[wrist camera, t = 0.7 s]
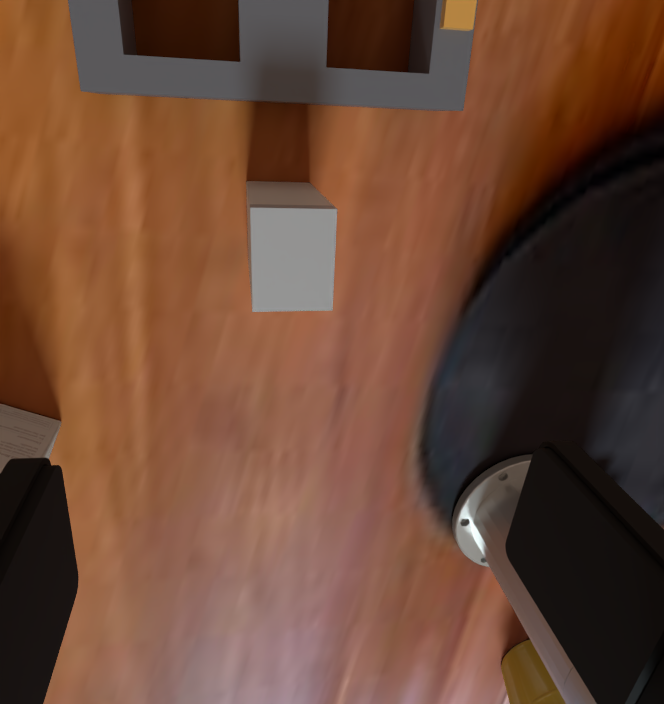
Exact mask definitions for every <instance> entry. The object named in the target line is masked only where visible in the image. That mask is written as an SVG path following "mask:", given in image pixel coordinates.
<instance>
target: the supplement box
mask: <svg viewBox="0 0 664 704" xmlns="http://www.w3.org/2000/svg"><path fill="white" fill-rule="evenodd" d="M60 426H61V421H59V420H55V419H52V418H48V417H45V416H41V415H38V414H34V413H31V412H28V411H24V410H21V409H17V408H14V407H10V406H7V405H4V404H0V473H1V472H2V470H3V468H4V467H5V465H6V464H7V462H8V461H9V460H10V459H14V458H45V457H46V458H48V459H49V457H50V454H51V451H52V448H53V446H54V443H55V440H56V437H57V434H58V432H59V429H60Z"/></svg>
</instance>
